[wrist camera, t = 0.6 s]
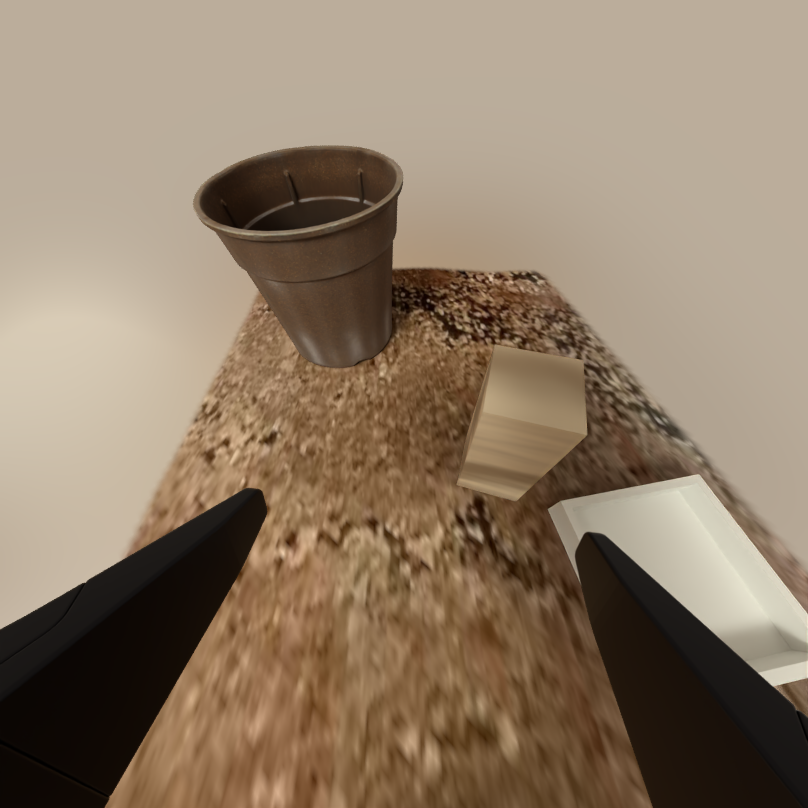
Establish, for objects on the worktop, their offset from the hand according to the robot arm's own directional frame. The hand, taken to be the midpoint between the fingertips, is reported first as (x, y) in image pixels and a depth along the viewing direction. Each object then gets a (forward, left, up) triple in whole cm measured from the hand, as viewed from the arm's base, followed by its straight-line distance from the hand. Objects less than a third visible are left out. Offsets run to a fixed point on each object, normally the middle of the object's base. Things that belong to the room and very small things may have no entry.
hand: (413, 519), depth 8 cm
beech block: (+7, -8, -16) cm, 19 cm away
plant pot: (+27, +4, -16) cm, 31 cm away
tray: (-3, -17, -16) cm, 24 cm away
